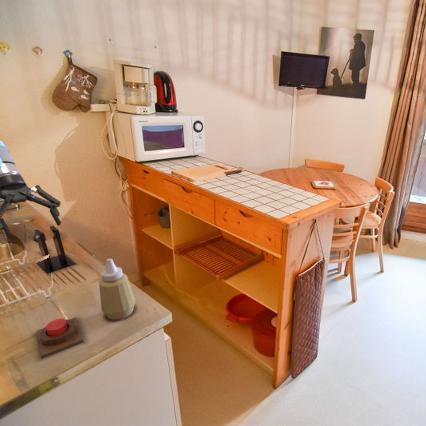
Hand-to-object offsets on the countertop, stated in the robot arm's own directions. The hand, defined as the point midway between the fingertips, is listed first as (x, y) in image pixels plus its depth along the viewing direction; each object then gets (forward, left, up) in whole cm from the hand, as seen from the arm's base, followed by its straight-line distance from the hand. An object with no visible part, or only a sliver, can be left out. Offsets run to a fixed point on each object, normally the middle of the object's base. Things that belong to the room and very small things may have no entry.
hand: (35, 230), depth 110 cm
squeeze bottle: (+46, -25, -9) cm, 53 cm away
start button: (+38, -36, -6) cm, 53 cm away
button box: (+38, -36, -9) cm, 53 cm away
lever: (+7, -5, -1) cm, 9 cm away
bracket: (+11, -7, -9) cm, 16 cm away
